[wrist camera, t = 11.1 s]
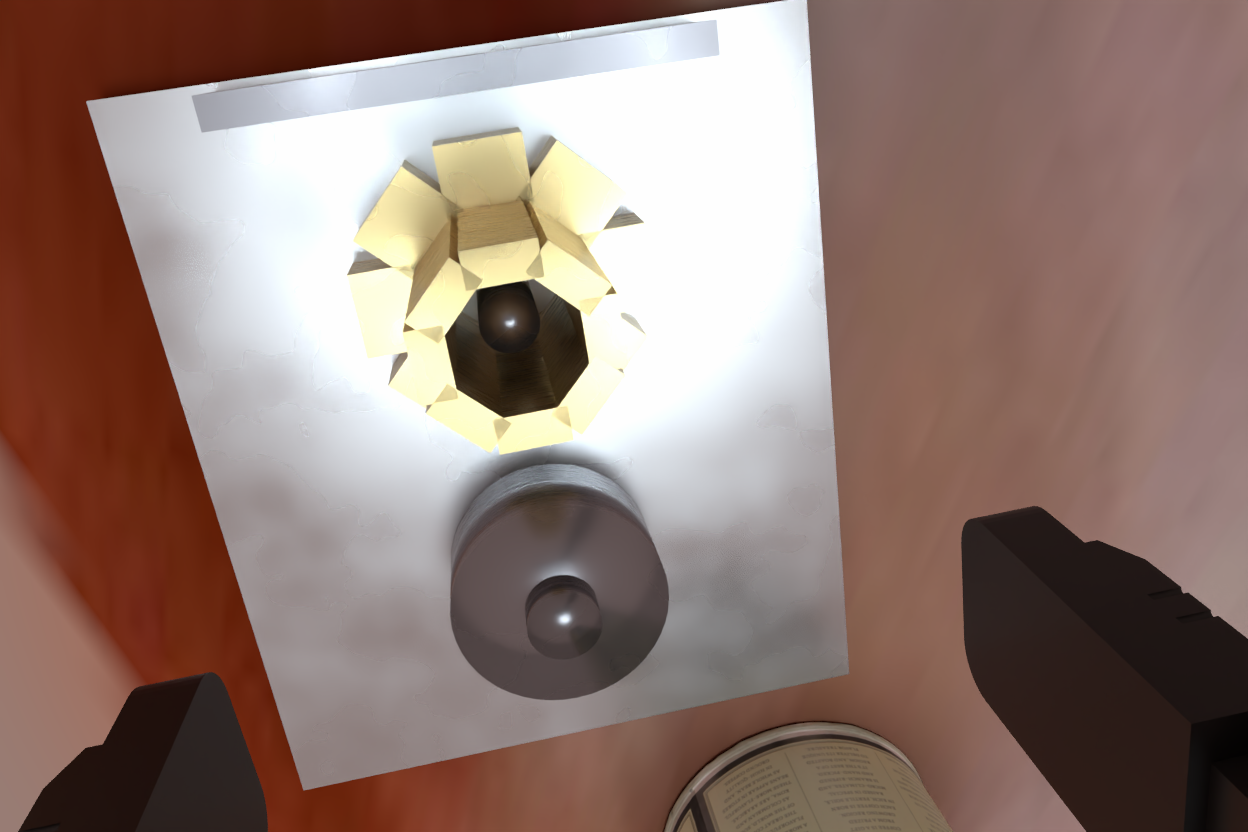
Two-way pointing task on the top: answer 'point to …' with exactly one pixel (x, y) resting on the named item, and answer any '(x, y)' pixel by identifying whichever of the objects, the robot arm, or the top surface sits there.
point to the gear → (494, 255)
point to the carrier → (509, 323)
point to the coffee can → (808, 786)
